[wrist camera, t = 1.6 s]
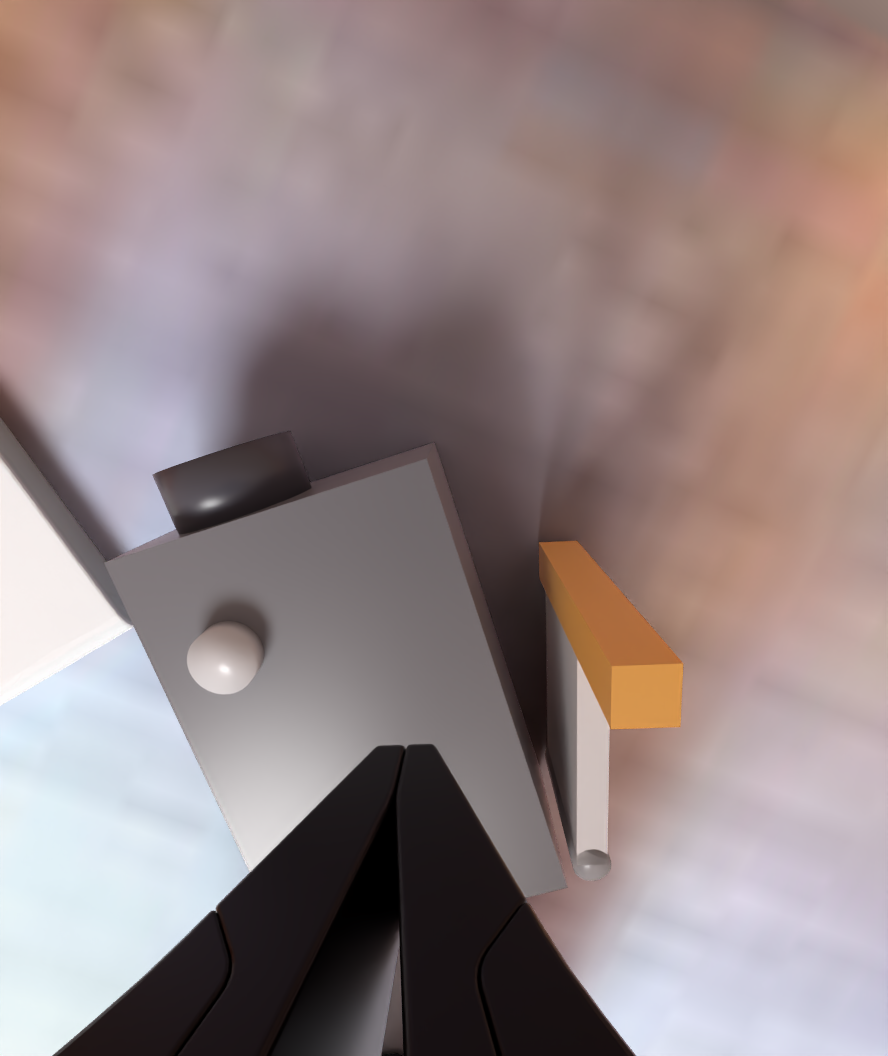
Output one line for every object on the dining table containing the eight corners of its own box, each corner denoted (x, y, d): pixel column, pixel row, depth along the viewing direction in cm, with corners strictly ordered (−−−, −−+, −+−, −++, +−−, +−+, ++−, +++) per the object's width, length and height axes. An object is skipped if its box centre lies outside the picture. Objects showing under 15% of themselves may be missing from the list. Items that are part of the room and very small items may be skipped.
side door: (576, 765, 20) (665, 1033, 11) (542, 766, 20) (605, 1035, 11) (577, 540, 18) (683, 663, 10) (539, 542, 18) (611, 666, 10)
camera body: (540, 767, 20) (572, 907, 14) (329, 824, 21) (283, 977, 15) (418, 391, 17) (400, 387, 12) (178, 471, 18) (55, 503, 12)
